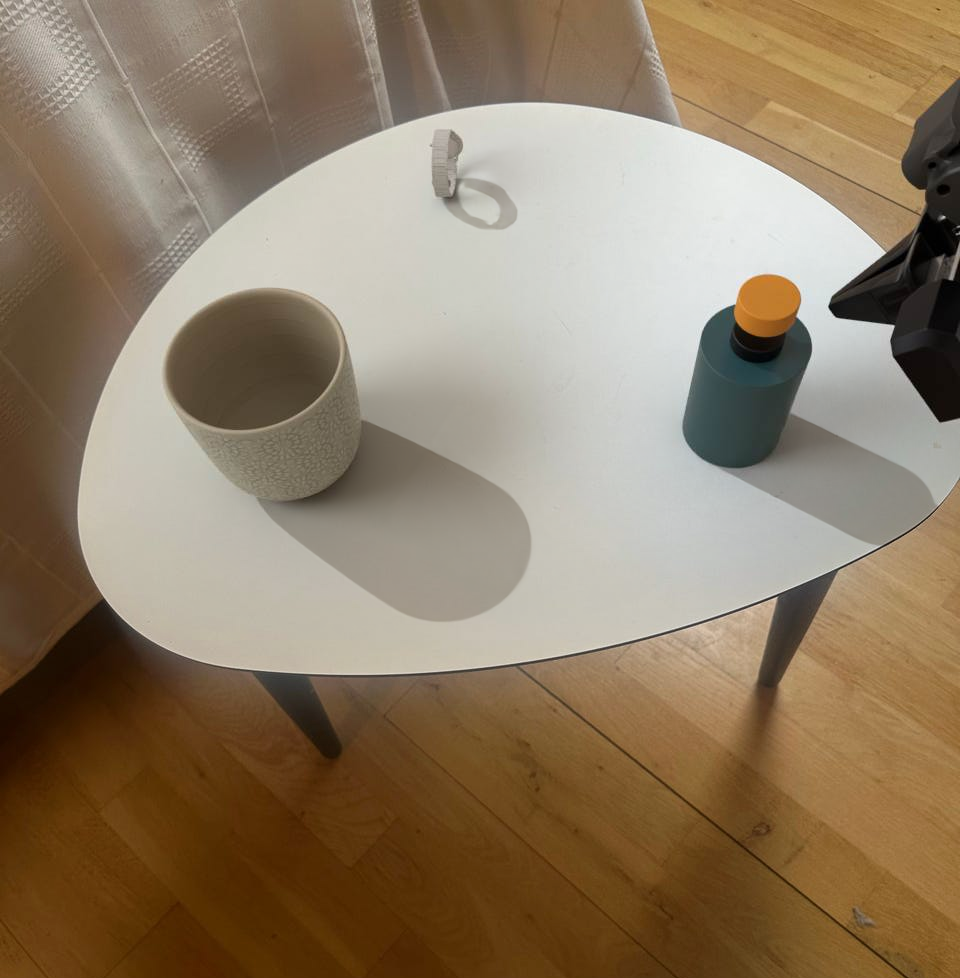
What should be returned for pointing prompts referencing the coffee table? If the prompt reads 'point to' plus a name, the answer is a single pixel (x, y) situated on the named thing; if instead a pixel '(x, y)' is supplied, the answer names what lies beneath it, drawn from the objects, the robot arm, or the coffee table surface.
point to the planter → (267, 391)
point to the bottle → (742, 390)
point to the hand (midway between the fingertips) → (832, 307)
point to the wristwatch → (445, 161)
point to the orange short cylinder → (767, 305)
